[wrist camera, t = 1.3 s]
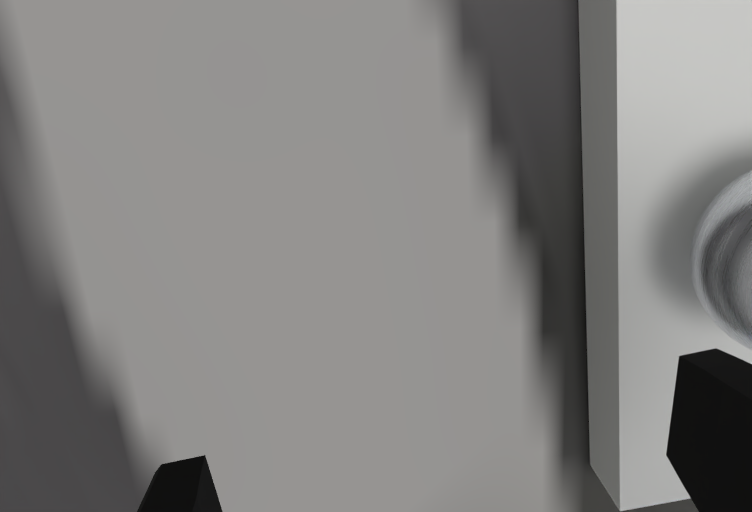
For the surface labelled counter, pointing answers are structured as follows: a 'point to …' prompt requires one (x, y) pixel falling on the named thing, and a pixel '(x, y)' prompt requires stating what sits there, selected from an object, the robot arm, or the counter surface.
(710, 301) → the ball
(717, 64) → the deck
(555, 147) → the counter surface
